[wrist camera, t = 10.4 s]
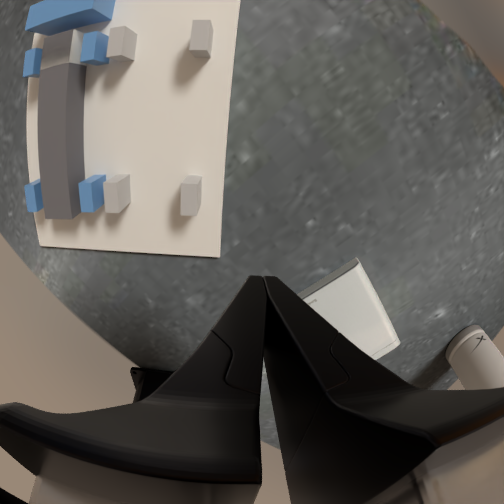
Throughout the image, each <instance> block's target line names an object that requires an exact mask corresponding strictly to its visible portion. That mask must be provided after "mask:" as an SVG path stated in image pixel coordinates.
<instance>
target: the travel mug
mask: <svg viewBox="0 0 504 504" xmlns="http://www.w3.org/2000/svg"><path fill="white" fill-rule="evenodd" d="M445 356H446V359H447V360H448V362H449V364H450V365H451V367H452V368H453V370H454V372H455V373H456V375H457V376H458V378H459V380H460V381H461V383H462V385H463V386H464V388H465V390H478V389H493V388H500V387H504V357H503V355H502V354H501V353H500V352H499V350H498V349H497V348H496V346H495V345H494V344H493V342H492V341H491V340H490V339H489V337H488V336H487V335H486V334H485V332H484V331H483V330H482V329H481V327H480V326H479V325H471V326H469V327H466V328H465V329H463V330H462V331H461V332H459V333H458V334H457V335H456V336H455V337H454V338H453V340H452V341H451V342H450V344H449V346H448V348H447V350H446V354H445Z"/></svg>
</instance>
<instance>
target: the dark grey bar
mask: <svg viewBox="0 0 504 504" xmlns="http://www.w3.org/2000/svg"><path fill="white" fill-rule="evenodd" d="M84 34H85V33H82V32H80V31H77V30H75V29H72V30H69V31H65V32H62V33H59V34H55V35H52V36H49V37H46V38H44V43H43V50H42V57H41V66H40V76H39V90H38V120H37V126H38V157H39V171H40V182H41V191H42V199H43V206H44V213H45V219H73V218H75V217H76V216H77V215H78V214H80V213H81V205H80V195H79V184H78V183H80V182H82V181H83V180H85V166H84V96H85V80H86V69H87V63H83V62H80V58H81V50H82V43H83V36H84Z"/></svg>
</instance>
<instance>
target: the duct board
mask: <svg viewBox="0 0 504 504" xmlns="http://www.w3.org/2000/svg"><path fill="white" fill-rule="evenodd" d="M240 1H241V0H44V1H42V2H39V3H37V4H34V5H32V6H30V10H29V14H28V18H27V23H26V28H25V30H26V31H30V32H35V34H34V40H33V46H32V49H31V50H28V51H26V54H25V61H24V70H23V77H29V80H28V94H27V153H28V168H29V179H30V183H29V184H27V185H25V186H24V187H25V195H26V202H27V209H28V212H34V217H35V222H36V228H37V233H38V238H39V243H40V246H50V247H64V248H79V249H94V250H109V251H125V252H141V253H157V254H173V255H190V256H207V257H220V246H221V225H222V206H223V189H224V173H225V158H226V144H227V131H228V119H229V107H230V95H231V84H232V74H233V63H234V54H235V44H236V35H237V26H238V17H239V9H240ZM72 29H75V30H77V31H80V32H82V33H85V34H84V36H83V43H82V50H81V58H80V62H83V63H87V69H86V80H85V96H84V166H85V180H83V181H82V182H80V183H78V184H79V195H80V205H81V213H80V214H78V215H77V216H76V217H75V218H73V219H45V213H44V206H43V199H42V191H41V182H40V171H39V157H38V126H37V120H38V90H39V76H40V66H41V57H42V50H43V43H44V38H46V37H49V36H52V35H55V34H59V33H62V32H65V31H69V30H72Z"/></svg>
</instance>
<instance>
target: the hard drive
mask: <svg viewBox="0 0 504 504" xmlns="http://www.w3.org/2000/svg"><path fill="white" fill-rule="evenodd" d="M297 295H298V296H299V297H300V298H301V299H302V300H304V301H305V302H306V303H307V304H308V305H309V306H310V307H312V308H313V309H314V310H315V311H316V312H317V313H318V314H320V315H321V316H322V317H323V318H324V319H325V320H326V321H328V322H329V323H330V324H331V325H332V326H333V327H334V328H336V329H337V330H338V331H339V332H340V333H342V334H343V335H344V336H345V337H346V338H347V339H348V340H350V341H351V342H352V343H353V344H354V345H356V346H357V347H358V348H359V349H361V350H362V351H363V352H365V353H366V354H367V355H369V356H370V357H371V358H373V359H374V360H377V359H378V358H380V357H382V356H383V355H385V354H387V353H388V352H390V351H391V350H393V349H394V348H396V347H397V346H398V345H399V344H400V341H399V339H398V337H397V334H396V332H395V330H394V328H393V326H392V324H391V322H390V319H389V317H388V315H387V313H386V311H385V309H384V307H383V305H382V303H381V301H380V299H379V297H378V295H377V293H376V291H375V290H374V288H373V286H372V284H371V282H370V280H369V278H368V276H367V275H366V273H365V271H364V269H363V267H362V265H361V264H360V262H359V260H358V259H357V258H354V259H352V260H351V261H349V262H348V263H346V264H345V265H343V266H342V267H340V268H338V269H337V270H335V271H334V272H332V273H331V274H329V275H327V276H326V277H324V278H323V279H321V280H319V281H318V282H316V283H315V284H313V285H311V286H310V287H308V288H306V289H305V290H303V291H302V292H300V293H298V294H297Z"/></svg>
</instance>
